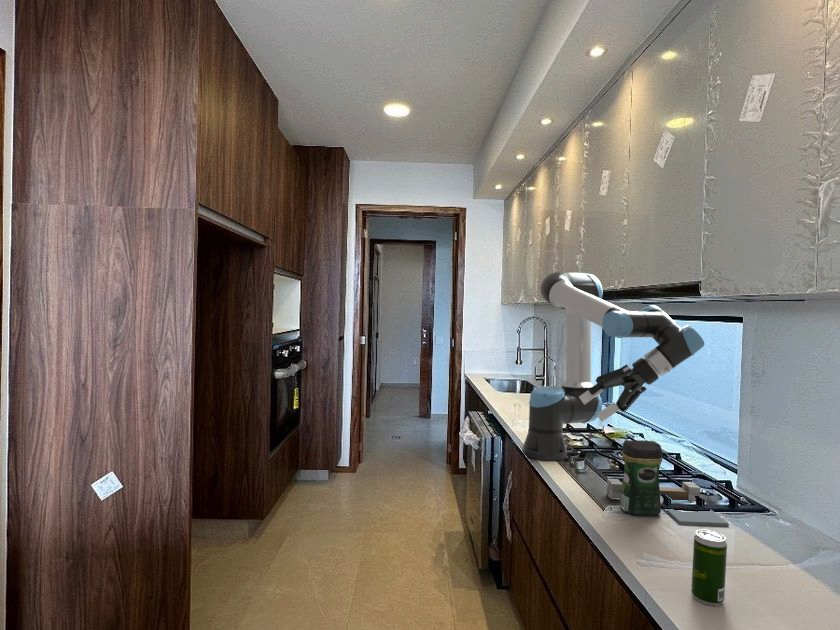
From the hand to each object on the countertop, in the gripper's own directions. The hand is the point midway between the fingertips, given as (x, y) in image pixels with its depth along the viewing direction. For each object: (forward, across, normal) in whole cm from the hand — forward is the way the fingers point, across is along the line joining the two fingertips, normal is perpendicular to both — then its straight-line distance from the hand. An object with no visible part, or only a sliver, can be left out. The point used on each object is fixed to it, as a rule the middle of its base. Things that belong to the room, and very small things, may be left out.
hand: (590, 409), depth 159 cm
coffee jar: (+5, +4, -30) cm, 31 cm away
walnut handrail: (+2, +14, -25) cm, 29 cm away
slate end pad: (-5, +11, -35) cm, 37 cm away
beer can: (+1, -24, -60) cm, 64 cm away
